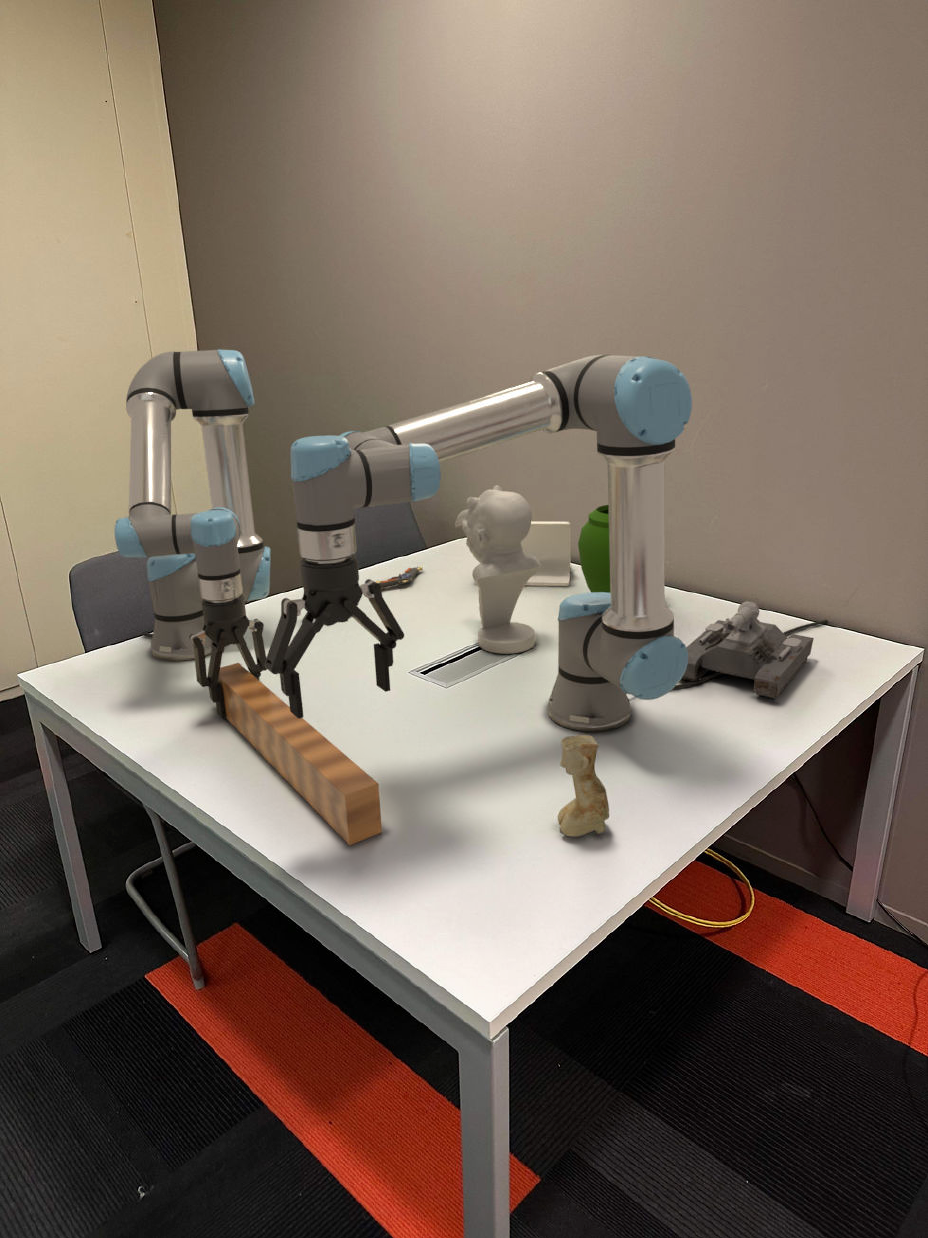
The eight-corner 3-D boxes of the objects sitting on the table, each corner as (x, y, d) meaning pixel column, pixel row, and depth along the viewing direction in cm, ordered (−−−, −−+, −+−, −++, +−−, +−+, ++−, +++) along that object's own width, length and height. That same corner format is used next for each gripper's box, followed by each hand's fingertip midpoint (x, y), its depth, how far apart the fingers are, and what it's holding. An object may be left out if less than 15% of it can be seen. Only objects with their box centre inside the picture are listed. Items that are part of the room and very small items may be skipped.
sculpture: (554, 820, 127) (555, 731, 122) (601, 816, 128) (604, 727, 122) (563, 843, 122) (564, 751, 116) (612, 839, 122) (616, 746, 117)
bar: (217, 709, 166) (211, 669, 163) (243, 701, 169) (238, 662, 166) (349, 845, 123) (345, 795, 120) (382, 832, 126) (378, 783, 123)
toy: (717, 640, 190) (723, 576, 185) (811, 659, 179) (819, 592, 174) (673, 681, 171) (677, 611, 166) (774, 705, 160) (782, 631, 155)
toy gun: (370, 582, 229) (406, 579, 226) (389, 566, 246) (423, 563, 244) (372, 592, 229) (408, 589, 227) (391, 575, 247) (424, 572, 245)
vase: (599, 587, 227) (601, 497, 218) (668, 600, 216) (673, 505, 208) (562, 608, 212) (564, 513, 204) (634, 623, 202) (639, 523, 193)
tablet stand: (569, 585, 229) (570, 524, 223) (476, 584, 232) (475, 523, 226) (570, 566, 246) (571, 508, 240) (484, 564, 249) (483, 507, 243)
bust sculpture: (498, 614, 210) (496, 472, 198) (553, 646, 190) (555, 490, 178) (440, 626, 203) (434, 481, 191) (491, 661, 183) (488, 500, 171)
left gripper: (177, 613, 148) (196, 732, 156) (278, 591, 157) (291, 704, 166) (164, 602, 153) (183, 717, 162) (262, 581, 163) (275, 691, 171)
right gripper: (249, 581, 103) (268, 737, 111) (423, 545, 116) (430, 686, 124) (227, 567, 109) (247, 716, 117) (395, 534, 122) (403, 669, 130)
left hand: (237, 710), depth 164 cm, fingers open, 6 cm apart
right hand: (341, 701), depth 120 cm, fingers open, 13 cm apart
